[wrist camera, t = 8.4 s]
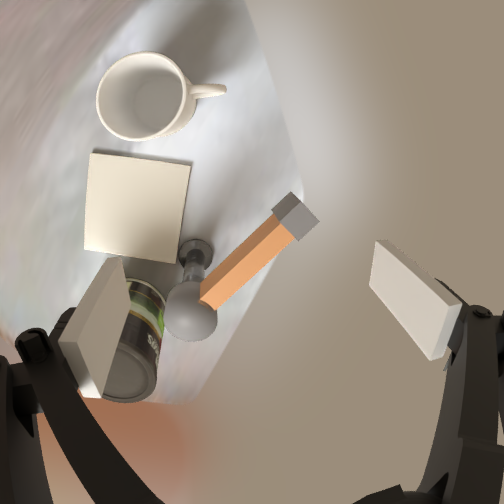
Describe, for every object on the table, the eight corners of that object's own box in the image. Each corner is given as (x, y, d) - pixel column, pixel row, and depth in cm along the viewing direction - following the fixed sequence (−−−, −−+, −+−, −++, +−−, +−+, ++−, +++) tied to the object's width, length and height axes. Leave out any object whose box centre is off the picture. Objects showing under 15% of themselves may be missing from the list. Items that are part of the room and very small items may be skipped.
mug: (224, 67, 33) (230, 44, 22) (223, 134, 37) (228, 140, 26) (127, 72, 32) (94, 55, 21) (127, 139, 35) (94, 148, 24)
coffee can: (169, 281, 43) (155, 347, 31) (166, 339, 47) (157, 408, 34) (99, 272, 42) (64, 332, 29) (103, 330, 45) (78, 395, 33)
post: (181, 236, 41) (172, 278, 31) (214, 242, 42) (216, 285, 31) (177, 267, 43) (168, 315, 32) (209, 271, 44) (210, 321, 33)
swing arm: (194, 329, 33) (193, 351, 30) (157, 302, 31) (152, 323, 28) (316, 219, 30) (328, 232, 26) (281, 181, 28) (290, 189, 25)
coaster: (92, 152, 35) (90, 153, 35) (191, 165, 38) (190, 166, 37) (85, 247, 40) (84, 249, 39) (175, 262, 42) (175, 263, 42)
